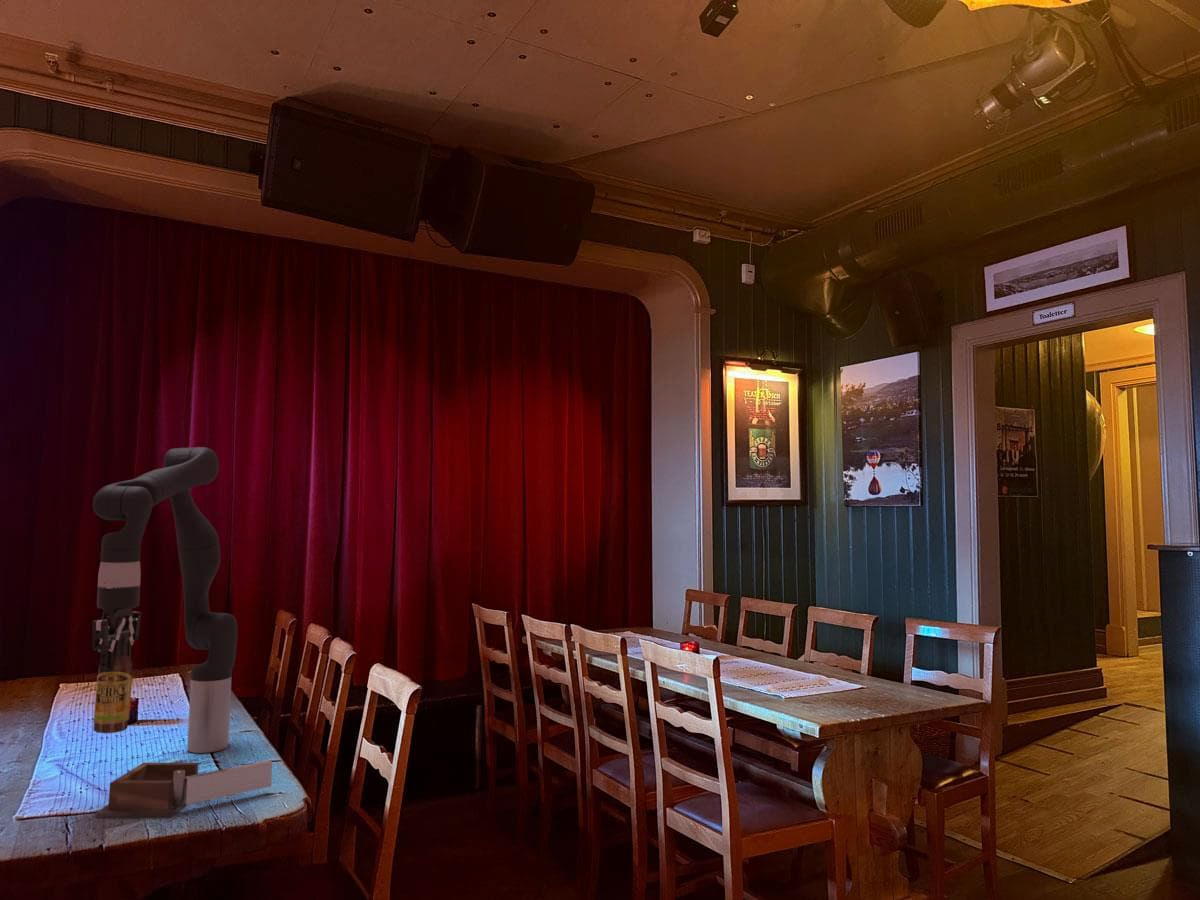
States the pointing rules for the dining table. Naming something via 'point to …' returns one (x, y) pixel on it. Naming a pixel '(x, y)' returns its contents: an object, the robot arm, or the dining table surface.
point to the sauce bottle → (114, 690)
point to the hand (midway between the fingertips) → (115, 667)
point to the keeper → (220, 783)
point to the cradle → (145, 791)
